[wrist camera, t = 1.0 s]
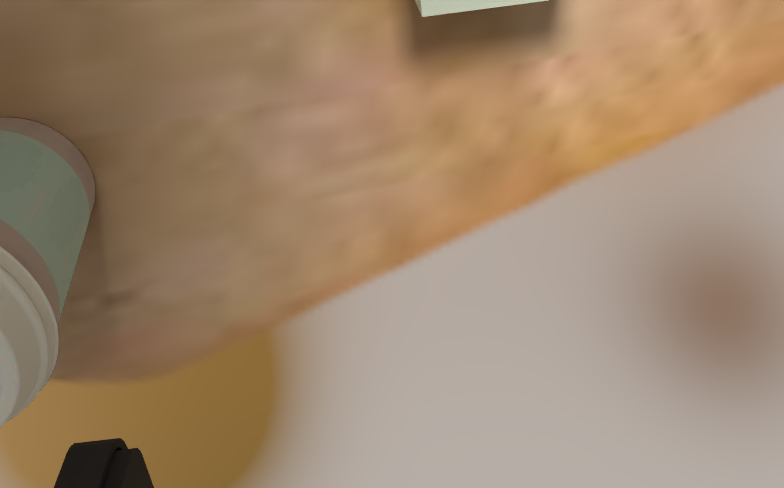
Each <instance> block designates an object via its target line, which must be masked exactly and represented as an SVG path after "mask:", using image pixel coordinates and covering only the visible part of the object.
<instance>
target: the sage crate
mask: <svg viewBox="0 0 784 488" xmlns="http://www.w3.org/2000/svg"><path fill="white" fill-rule="evenodd" d="M540 1H547V0H415V2H416V4H417V6H418V9H419V11H420V13H421V15H422V17H426V16H434V15H441V14H449V13H457V12H464V11H472V10H479V9H487V8H494V7H502V6H510V5H517V4H525V3H532V2H540Z"/></svg>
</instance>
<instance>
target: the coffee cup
mask: <svg viewBox="0 0 784 488" xmlns="http://www.w3.org/2000/svg"><path fill="white" fill-rule="evenodd" d="M94 201H95V182H94V177H93V174H92V171H91V169H90V167H89V165H88V163H87V161H86V159H85V158H84V156H83V155H82V154H81V152H80V151H79V150H78V149H77V148H76V146H75V145H73V144H72V143H71V142H70V141H69V140H68V139H67V138H65V137H64V136H63V135H61V134H60V133H58V132H57V131H55V130H53V129H52V128H50V127H48V126H45V125H43V124H40V123H38V122H35V121H31V120H27V119H22V118H11V117H6V118H0V427H1V426H2V425H3V424H4V423H5V422H7V421H9V420H10V419H12V418H14V417H15V416H16V415H18V414H19V413H20V412H22V411H23V410H24V409H25V408H26V407H27V406H28V405H29V404H30V403H31V402H32V401H33V399H34V398H35V397H36V395H37V394H38V393H39V392H40V391H41V390H42V388H43V387H44V386H45V384H46V383H47V381H48V380H49V378H50V376H51V374H52V372H53V370H54V367H55V364H56V361H57V356H58V349H59V336H58V328H57V327H58V324H59V320H60V317H61V314H62V310H63V307H64V304H65V300H66V297H67V294H68V290H69V287H70V284H71V280H72V277H73V274H74V270H75V267H76V264H77V260H78V257H79V254H80V250H81V247H82V244H83V240H84V237H85V234H86V230H87V227H88V223H89V219H90V216H91V212H92V209H93V205H94Z"/></svg>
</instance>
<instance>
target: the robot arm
mask: <svg viewBox="0 0 784 488" xmlns="http://www.w3.org/2000/svg"><path fill="white" fill-rule="evenodd" d="M54 488H154V487H153V484H152V481H151V478H150V475H149V473H148V470H147V468H146V464H145V461H144V459H143V456H142V453H141V451H140V450H139V449H138V448H133V449H128V448H127V446H126V444H125V442H124V441H123V440H122V439H120V438H119V439H118V438H117V439H108V440H100V441H92V442H82V443H74V444H73V445H72V446H71V447H70V448H69V450H68V452H67V454H66V457H65V460H64V462H63V465H62V467H61V470H60V473H59V475H58V478H57V481H56V484H55V486H54Z"/></svg>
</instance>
